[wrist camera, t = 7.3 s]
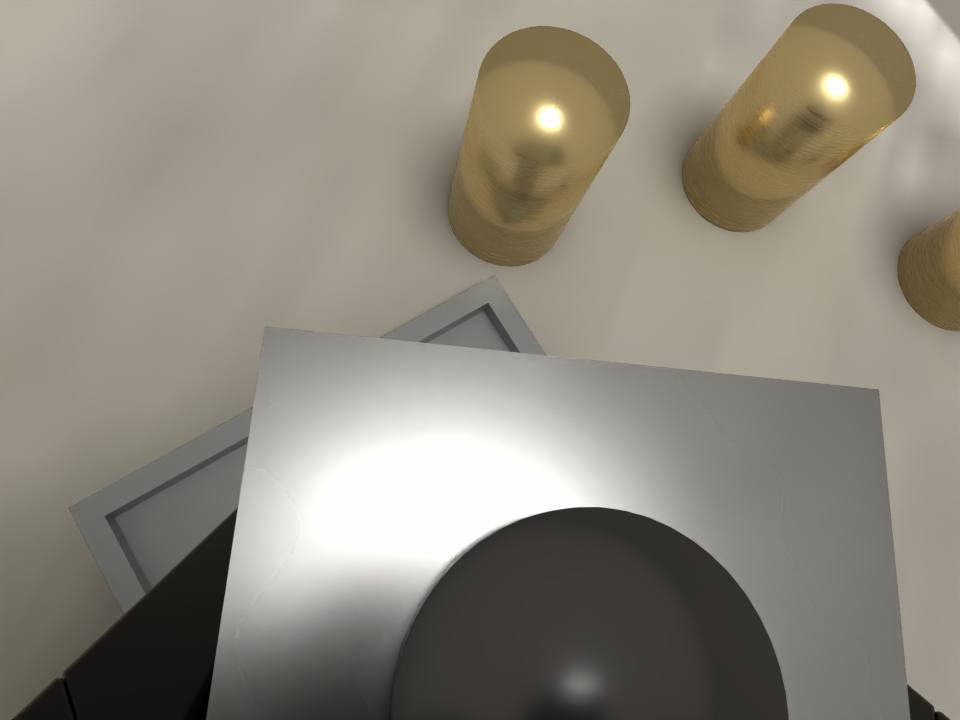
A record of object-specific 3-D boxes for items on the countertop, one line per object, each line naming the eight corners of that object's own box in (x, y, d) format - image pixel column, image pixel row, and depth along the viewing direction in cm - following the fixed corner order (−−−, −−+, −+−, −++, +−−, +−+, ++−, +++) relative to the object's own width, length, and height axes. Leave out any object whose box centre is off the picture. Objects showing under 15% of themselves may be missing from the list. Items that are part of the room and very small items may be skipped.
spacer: (488, 286, 21) (533, 188, 16) (426, 190, 22) (447, 61, 16) (584, 233, 22) (659, 123, 17) (521, 142, 23) (574, 5, 17)
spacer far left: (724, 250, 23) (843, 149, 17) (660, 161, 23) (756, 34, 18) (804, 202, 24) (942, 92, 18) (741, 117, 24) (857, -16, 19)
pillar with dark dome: (530, 723, 15) (995, 1187, 4) (307, 715, 14) (116, 1241, 3) (539, 500, 16) (908, 381, 5) (334, 484, 15) (259, 312, 4)
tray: (327, 971, 16) (324, 1003, 15) (87, 510, 18) (68, 507, 17) (723, 655, 20) (745, 662, 18) (487, 290, 21) (494, 275, 20)
